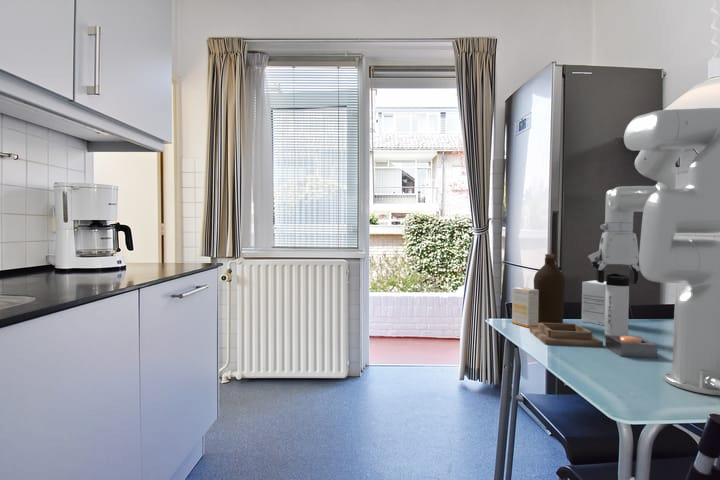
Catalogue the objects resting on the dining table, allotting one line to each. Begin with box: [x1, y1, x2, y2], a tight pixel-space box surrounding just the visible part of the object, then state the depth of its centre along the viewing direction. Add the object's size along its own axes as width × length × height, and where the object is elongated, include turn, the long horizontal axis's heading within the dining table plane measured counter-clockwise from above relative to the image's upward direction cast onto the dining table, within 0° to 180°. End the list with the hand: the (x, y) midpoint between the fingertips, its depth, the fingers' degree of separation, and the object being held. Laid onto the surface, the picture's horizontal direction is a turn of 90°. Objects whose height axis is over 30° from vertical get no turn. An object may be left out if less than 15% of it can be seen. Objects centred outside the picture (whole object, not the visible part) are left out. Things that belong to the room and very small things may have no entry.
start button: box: [620, 335, 641, 343], centre depth 117 cm, size 5×5×3 cm
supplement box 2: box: [581, 279, 607, 326], centre depth 156 cm, size 9×9×15 cm
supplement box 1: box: [511, 286, 539, 328], centre depth 150 cm, size 8×5×13 cm, turn 22°
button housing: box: [605, 335, 658, 359], centre depth 117 cm, size 9×9×4 cm
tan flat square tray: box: [529, 322, 604, 348], centre depth 131 cm, size 16×16×4 cm
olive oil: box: [533, 253, 567, 323], centre depth 155 cm, size 11×11×25 cm
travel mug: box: [604, 273, 630, 338], centre depth 133 cm, size 6×7×20 cm
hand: (616, 282), depth 133 cm, fingers open, 9 cm apart
